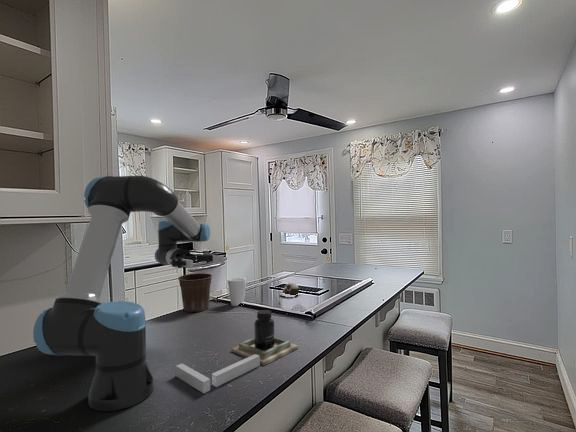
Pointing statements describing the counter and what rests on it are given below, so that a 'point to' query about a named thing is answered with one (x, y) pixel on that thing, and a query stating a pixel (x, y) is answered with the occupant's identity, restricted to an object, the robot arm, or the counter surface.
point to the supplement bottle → (264, 331)
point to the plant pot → (195, 291)
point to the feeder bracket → (216, 373)
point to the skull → (291, 289)
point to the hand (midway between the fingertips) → (208, 261)
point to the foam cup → (237, 290)
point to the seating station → (266, 356)
